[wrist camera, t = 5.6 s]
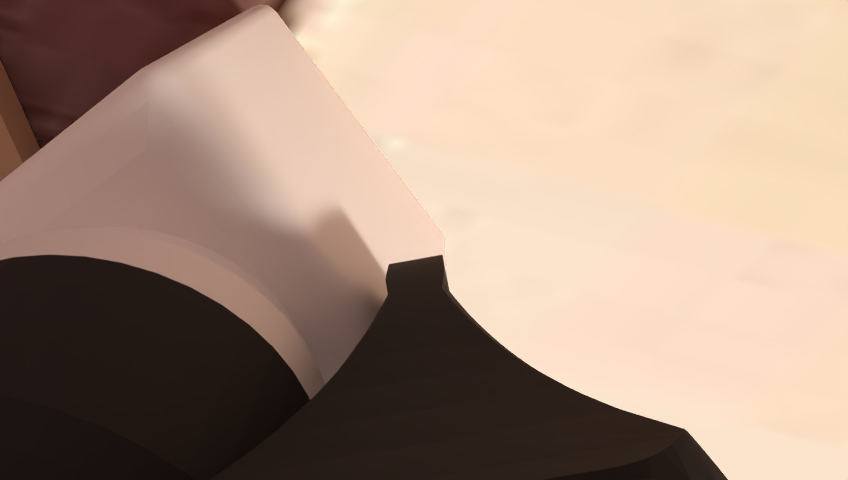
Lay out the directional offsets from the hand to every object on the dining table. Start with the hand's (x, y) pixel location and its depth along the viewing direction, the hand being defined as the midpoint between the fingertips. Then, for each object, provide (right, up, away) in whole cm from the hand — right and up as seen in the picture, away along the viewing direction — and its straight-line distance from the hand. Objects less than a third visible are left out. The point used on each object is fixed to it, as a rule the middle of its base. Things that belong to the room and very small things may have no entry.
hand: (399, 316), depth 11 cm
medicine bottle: (-4, +2, +6) cm, 8 cm away
